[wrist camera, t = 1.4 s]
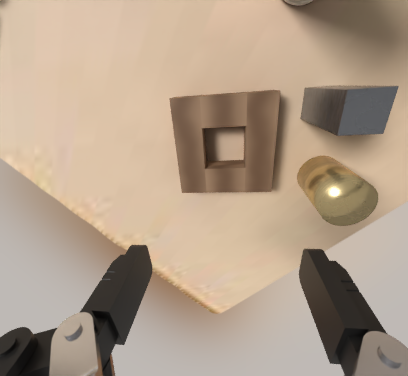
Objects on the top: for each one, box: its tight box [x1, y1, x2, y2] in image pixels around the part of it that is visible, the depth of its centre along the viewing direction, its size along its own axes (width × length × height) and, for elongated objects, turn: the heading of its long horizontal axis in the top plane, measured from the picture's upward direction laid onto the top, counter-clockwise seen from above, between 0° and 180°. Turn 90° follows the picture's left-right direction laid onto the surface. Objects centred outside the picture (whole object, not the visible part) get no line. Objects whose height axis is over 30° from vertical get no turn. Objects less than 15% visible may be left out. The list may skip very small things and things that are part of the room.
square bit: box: [301, 86, 398, 136], centre depth 23 cm, size 4×4×11 cm
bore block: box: [170, 90, 280, 193], centre depth 30 cm, size 14×14×4 cm
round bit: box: [297, 156, 378, 226], centre depth 29 cm, size 6×6×9 cm
